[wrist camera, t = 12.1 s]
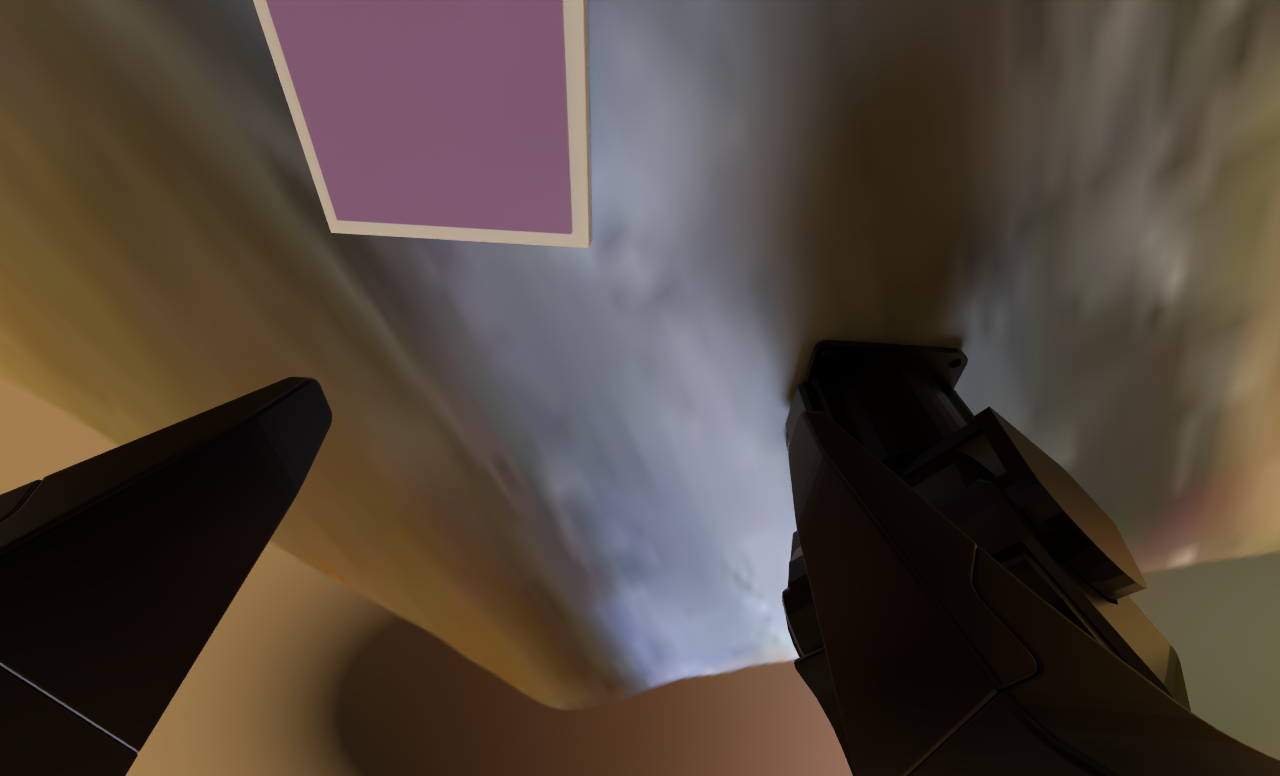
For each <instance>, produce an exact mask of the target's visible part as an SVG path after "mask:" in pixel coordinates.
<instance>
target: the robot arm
mask: <svg viewBox="0 0 1280 776" xmlns="http://www.w3.org/2000/svg"><path fill="white" fill-rule="evenodd" d="M825 350H831V351H830V352H829V353H828V354H826V355H822V352H823V351H825ZM954 358H957V359H956V360H955V361H954V362H952V363H949V362H950V361H951V360H952V359H954ZM967 361H968V359H967V356H966V355H965V354H964V353H963V352H962V351H961V350H960V349H956V348H943V347H927V346H911V345H895V344H880V343H864V342H848V341H832V340H825V341H821V342H819V343H818V344H816V345H815V347H814V349H813V352H812V355H811V359H810V362H809V365H808V369H807V372H806V376H805V379H804V382H801V383H800V384H799V385H797V387H796V391H795V394H794V398H793V401H792V405H791V408H790V412H789V415H788V419H787V422H786V429H787V432H788V437H787V440H786V446H787V449H788V455H789V465H790V474H791V483H792V492H793V501H794V510H795V518H796V526H797V531H796V532H794V533H793V540H792V550H791V560H790V562H789V580H788V588H787V589H785V590H784V591H783V595H782V602H783V606H784V610H785V614H786V620H787V625H788V630H789V633H790V636H791V639H792V642H793V645H794V647H795V649H796V651H797V653H798V655H799V657H800V658H798V659H796V660H795V662H794V664H795V668H796V670H797V671H798V673H799V674H800V676H801V677H802V678H803V679H804V681H805V682H806V684H807V685H808V687H809V688H810V689H811V691H812V692H813V693H814V695H815V696H816V698H817V699H818V701H819V703H820V705H821V706H822V708H823V710H824V712H825V714H826V716H827V717H828V719H829V721H830V722H831V725H832V726H833V728H834V730H835V733H836V735H837V738H838V740H839V742H840V744H841V747H842V749H843V751H844V754H845V757H846V759H847V762H848V764H849V766H850V769H851V772H852V774H853V776H1280V760H1277V759H1275V758H1273V757H1270V756H1268V755H1266V754H1264V753H1261V752H1260V751H1257V750H1255V749H1253V748H1251V747H1249V746H1247V745H1245V744H1243V743H1241V742H1239V741H1238V740H1236V739H1234V738H1232V737H1230V736H1228V735H1227V734H1224V733H1223V732H1221V731H1220V730H1218V729H1216V728H1215V727H1213V726H1212V725H1210V724H1208V723H1207V722H1205V721H1204V720H1202V719H1201V718H1199V717H1197V716H1196V715H1195V714H1193V713H1192V712H1191V709H1190V704H1189V700H1188V695H1187V690H1186V686H1185V681H1184V677H1183V672H1182V668H1181V663H1180V660H1179V657H1178V655H1177V653H1176V651H1175V650H1174V648H1173V647H1172V646H1171V644H1170V643H1169V642H1168V641H1167V639H1166V638H1165V637H1164V636H1163V635H1162V634H1161V632H1159V630H1158V629H1157V628H1156V627H1155V626H1154V624H1153V623H1152V622H1151V621H1150V620H1149V619H1148V618H1147V616H1146V615H1145V614H1144V613H1143V612H1142V610H1141V609H1140V608H1139V607H1138V606H1137V605H1136V603H1135V602H1134V601H1133V600H1132V599H1131V598H1130V597H1129V595H1130V594H1132V593H1134V592H1138V591H1140V590H1143V589H1145V588H1147V585H1146V582H1145V580H1144V578H1143V576H1142V574H1141V573H1140V571H1139V569H1138V567H1137V565H1136V563H1135V561H1134V559H1133V557H1132V555H1131V553H1130V551H1129V550H1128V548H1127V546H1126V544H1125V542H1124V540H1123V538H1122V536H1121V534H1120V532H1119V530H1118V528H1117V527H1116V525H1115V523H1114V522H1113V521H1112V520H1111V519H1110V517H1109V516H1108V515H1107V514H1106V513H1105V512H1104V511H1103V510H1102V509H1101V508H1100V507H1099V506H1098V505H1097V504H1096V502H1095V501H1094V500H1093V499H1092V498H1091V497H1090V496H1089V495H1088V494H1087V493H1086V492H1085V491H1084V490H1083V489H1082V488H1081V486H1080V485H1079V484H1078V483H1077V482H1076V481H1075V480H1074V479H1073V478H1072V477H1071V476H1070V475H1069V474H1068V473H1067V472H1066V471H1065V470H1064V469H1063V468H1062V467H1061V466H1060V465H1059V464H1058V463H1056V462H1055V461H1054V460H1053V459H1052V458H1050V457H1049V456H1048V455H1047V454H1046V453H1044V452H1043V451H1042V450H1041V449H1040V448H1038V447H1037V446H1036V445H1035V444H1034V443H1032V442H1031V441H1030V440H1029V439H1028V438H1026V437H1025V436H1024V435H1023V434H1022V433H1020V432H1019V431H1018V430H1017V429H1016V428H1015V427H1013V426H1012V425H1011V424H1010V423H1009V422H1007V421H1006V420H1005V419H1004V418H1003V417H1001V416H1000V415H999V414H998V413H997V412H995V411H994V410H993V409H992V408H991V407H988V408H986V409H985V410H983V411H981V412H980V413H978V414H977V415H975V416H974V415H973V413H972V412H971V411H970V409H969V408H968V407H967V406H966V404H965V403H964V402H963V400H962V399H961V398H960V396H959V395H958V394H957V393H956V391H955V390H954V387H955V385H956V383H957V382H958V380H959V378H960V376H961V374H962V372H963V370H964V368H965V366H966V364H967ZM331 422H332V412H331V409H330V407H329V404H328V402H327V400H326V397H325V395H324V393H323V390H322V388H321V386H320V384H319V382H318V381H317V380H315V379H313V378H307V377H289V378H286V379H284V380H281V381H279V382H276V383H274V384H271V385H269V386H266V387H264V388H262V389H259V390H257V391H254V392H252V393H249V394H247V395H244V396H242V397H239V398H237V399H235V400H232V401H230V402H227V403H225V404H222V405H220V406H217V407H215V408H213V409H210V410H208V411H205V412H203V413H200V414H198V415H195V416H193V417H190V418H188V419H186V420H183V421H181V422H178V423H176V424H173V425H171V426H168V427H166V428H163V429H161V430H159V431H156V432H154V433H151V434H149V435H146V436H144V437H141V438H139V439H136V440H134V441H132V442H129V443H127V444H124V445H122V446H119V447H117V448H114V449H112V450H109V451H107V452H105V453H102V454H100V455H97V456H95V457H92V458H90V459H87V460H85V461H83V462H80V463H78V464H75V465H73V466H70V467H68V468H66V469H63V470H60V471H58V472H56V473H53V474H51V475H48V476H46V477H44V478H43V480H36V481H33V482H31V483H28V484H26V485H23V486H21V487H18V488H16V489H14V490H11V491H9V492H6V493H4V494H1V495H0V776H125V775H126V774H127V772H128V771H129V769H130V767H131V766H132V764H133V762H134V761H135V759H136V757H137V752H139V751H140V750H141V748H142V747H143V745H144V744H145V742H146V740H147V739H148V737H149V735H150V734H151V732H152V731H153V729H154V727H155V726H156V724H157V723H158V721H159V719H160V717H161V716H162V714H163V713H164V711H165V709H166V708H167V706H168V705H169V703H170V701H171V699H172V698H173V696H174V695H175V693H176V691H177V690H178V688H179V687H180V685H181V683H182V681H183V680H184V678H185V677H186V675H187V674H188V672H189V670H190V669H191V667H192V665H193V664H194V662H195V661H196V659H197V657H198V655H199V654H200V652H201V651H202V649H203V648H204V646H205V644H206V643H207V641H208V639H209V638H210V636H211V634H212V633H213V631H214V630H215V628H216V626H217V625H218V623H219V622H220V620H221V618H222V617H223V615H224V613H225V612H226V610H227V609H228V607H229V605H230V604H231V602H232V600H233V599H234V597H235V595H236V594H237V592H238V591H239V589H240V587H241V586H242V584H243V582H244V581H245V579H246V578H247V576H248V574H249V573H250V571H251V569H252V568H253V566H254V564H255V563H256V561H257V560H258V558H259V556H260V555H261V553H262V552H263V550H264V548H265V547H266V545H267V543H268V542H269V540H270V538H271V537H272V535H273V534H274V532H275V530H276V529H277V527H278V525H279V524H280V522H281V521H282V519H283V517H284V516H285V514H286V512H287V511H288V509H289V508H290V506H291V504H292V503H293V501H294V499H295V497H296V496H297V494H298V492H299V490H300V488H301V486H302V484H303V482H304V480H305V478H306V476H307V474H308V472H309V470H310V468H311V466H312V463H313V461H314V459H315V457H316V455H317V453H318V451H319V449H320V447H321V444H322V442H323V440H324V438H325V436H326V434H327V432H328V430H329V428H330V425H331Z"/></svg>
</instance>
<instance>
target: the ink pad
mask: <svg viewBox="0 0 1280 776" xmlns="http://www.w3.org/2000/svg"><path fill="white" fill-rule="evenodd" d="M253 1H254V4H255V7H256V10H257V13H258V16H259V19H260V22H261V25H262V28H263V31H264V34H265V37H266V40H267V43H268V46H269V49H270V52H271V55H272V58H273V61H274V64H275V67H276V70H277V73H278V76H279V79H280V82H281V85H282V88H283V91H284V94H285V97H286V100H287V103H288V105H289V108H290V111H291V114H292V117H293V120H294V123H295V126H296V129H297V132H298V135H299V138H300V141H301V144H302V147H303V150H304V153H305V156H306V159H307V162H308V165H309V168H310V171H311V174H312V177H313V180H314V183H315V186H316V189H317V192H318V195H319V198H320V201H321V204H322V207H323V210H324V213H325V216H326V219H327V222H328V225H329V228H330V230H331V233H347V234H363V235H380V236H396V237H413V238H430V239H446V240H463V241H480V242H496V243H513V244H530V245H546V246H563V247H579V248H589V246H590V244H591V241H592V213H591V158H590V102H589V46H588V0H253Z"/></svg>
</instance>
